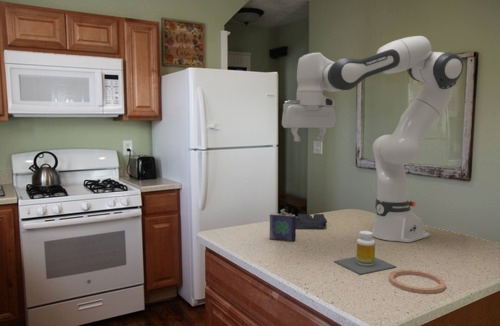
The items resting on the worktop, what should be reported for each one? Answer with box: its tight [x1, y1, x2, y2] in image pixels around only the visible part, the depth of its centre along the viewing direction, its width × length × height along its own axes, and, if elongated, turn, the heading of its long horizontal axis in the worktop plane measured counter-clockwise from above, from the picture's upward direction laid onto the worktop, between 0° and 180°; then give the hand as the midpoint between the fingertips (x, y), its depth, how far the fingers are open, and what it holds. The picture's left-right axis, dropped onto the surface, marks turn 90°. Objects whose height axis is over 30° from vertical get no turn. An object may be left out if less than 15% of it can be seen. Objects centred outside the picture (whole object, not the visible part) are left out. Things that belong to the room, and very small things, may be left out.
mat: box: [333, 256, 397, 276], centre depth 124 cm, size 14×12×1 cm
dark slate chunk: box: [295, 213, 328, 231], centre depth 173 cm, size 15×22×5 cm
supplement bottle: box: [355, 230, 376, 266], centre depth 124 cm, size 5×5×10 cm
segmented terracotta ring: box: [388, 269, 447, 295], centre depth 110 cm, size 14×14×1 cm
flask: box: [269, 208, 297, 243], centre depth 150 cm, size 10×3×12 cm, turn 71°
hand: (308, 141), depth 140 cm, fingers open, 8 cm apart
